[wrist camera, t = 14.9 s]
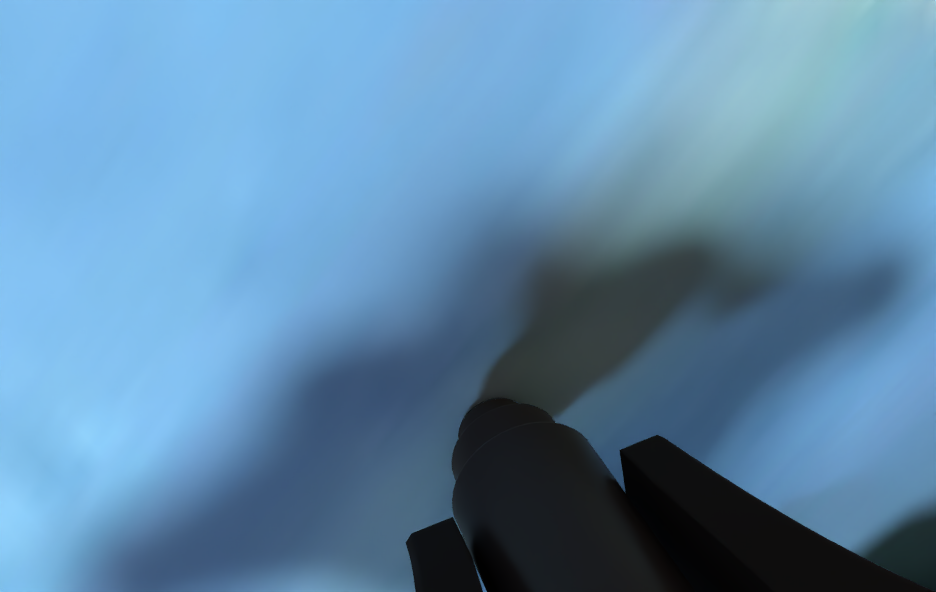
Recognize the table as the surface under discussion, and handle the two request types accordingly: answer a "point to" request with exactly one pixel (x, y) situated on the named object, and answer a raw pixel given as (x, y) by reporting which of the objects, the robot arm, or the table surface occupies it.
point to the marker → (549, 509)
